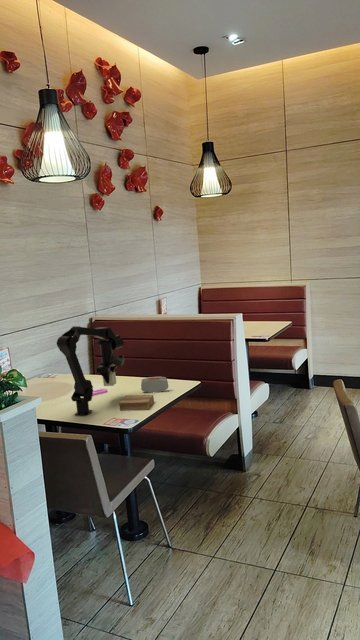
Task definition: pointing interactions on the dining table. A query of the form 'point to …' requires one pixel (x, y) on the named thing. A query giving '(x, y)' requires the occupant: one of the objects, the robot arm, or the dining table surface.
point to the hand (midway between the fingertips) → (109, 381)
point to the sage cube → (111, 379)
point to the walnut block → (136, 402)
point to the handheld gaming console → (154, 384)
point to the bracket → (99, 392)
